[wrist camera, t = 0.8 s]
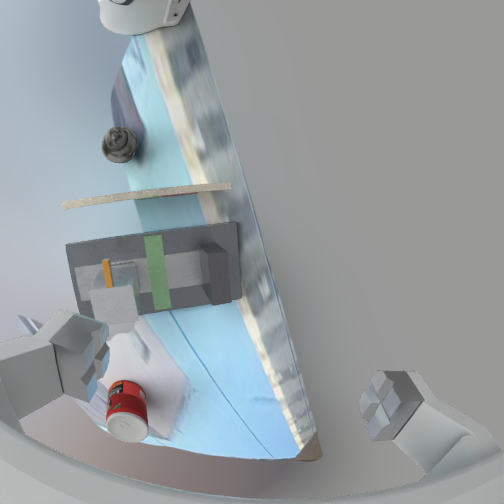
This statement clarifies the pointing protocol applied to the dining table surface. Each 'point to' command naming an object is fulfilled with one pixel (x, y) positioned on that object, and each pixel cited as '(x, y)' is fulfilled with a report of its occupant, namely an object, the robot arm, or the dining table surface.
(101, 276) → the brushed steel slab
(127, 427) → the canned food
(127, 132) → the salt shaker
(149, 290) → the base
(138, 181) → the dining table surface
